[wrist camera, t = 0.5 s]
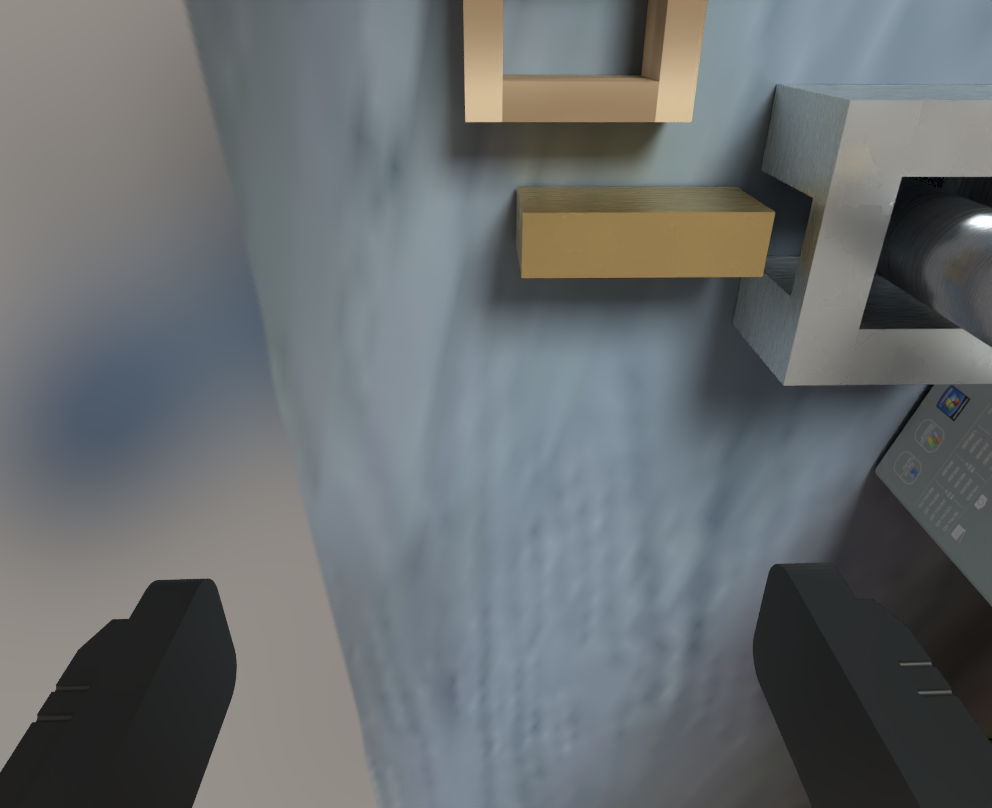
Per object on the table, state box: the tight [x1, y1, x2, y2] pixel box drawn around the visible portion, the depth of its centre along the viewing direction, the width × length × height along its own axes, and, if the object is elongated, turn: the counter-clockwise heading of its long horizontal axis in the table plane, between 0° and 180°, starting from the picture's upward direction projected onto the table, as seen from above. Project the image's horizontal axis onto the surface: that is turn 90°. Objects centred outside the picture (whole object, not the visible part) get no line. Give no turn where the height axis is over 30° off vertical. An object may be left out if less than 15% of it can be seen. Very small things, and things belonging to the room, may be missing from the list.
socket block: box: [733, 84, 992, 386], centre depth 27 cm, size 10×10×6 cm
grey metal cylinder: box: [875, 177, 992, 347], centre depth 23 cm, size 4×4×14 cm
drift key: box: [516, 186, 775, 278], centre depth 27 cm, size 2×9×4 cm, turn 90°
